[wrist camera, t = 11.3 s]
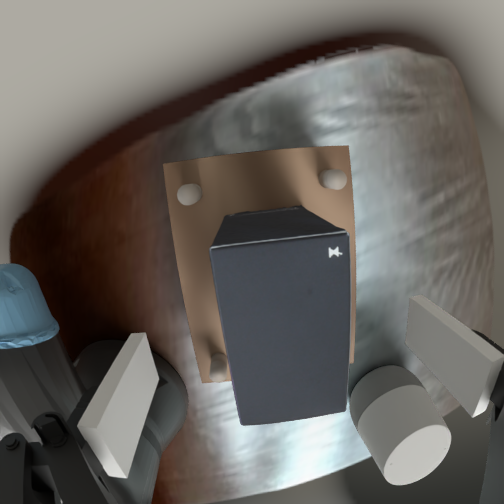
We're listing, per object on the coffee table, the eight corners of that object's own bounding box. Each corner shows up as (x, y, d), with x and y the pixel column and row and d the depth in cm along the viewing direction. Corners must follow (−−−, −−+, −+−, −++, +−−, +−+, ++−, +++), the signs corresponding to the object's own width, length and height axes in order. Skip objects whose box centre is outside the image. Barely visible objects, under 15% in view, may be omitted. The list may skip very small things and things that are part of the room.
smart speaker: (417, 354, 34) (476, 421, 20) (397, 408, 36) (439, 477, 22) (352, 360, 33) (400, 443, 19) (336, 416, 35) (367, 498, 22)
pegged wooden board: (207, 349, 32) (199, 400, 24) (178, 166, 27) (154, 162, 19) (336, 333, 32) (362, 377, 24) (327, 151, 28) (360, 142, 19)
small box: (217, 214, 23) (200, 243, 12) (305, 203, 23) (356, 224, 12) (236, 341, 25) (236, 431, 15) (313, 330, 25) (352, 412, 15)
